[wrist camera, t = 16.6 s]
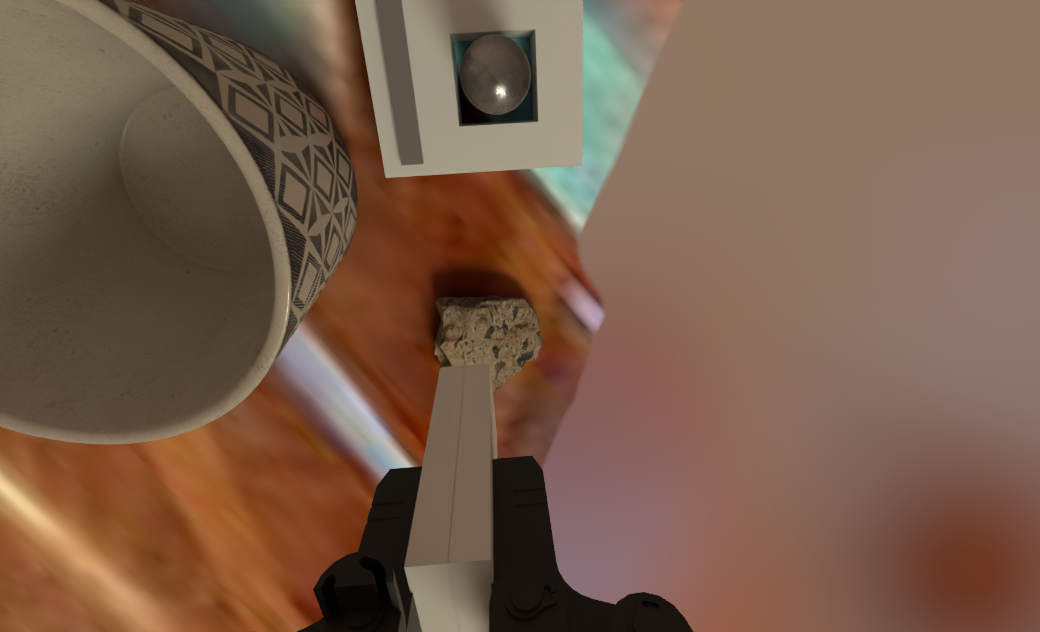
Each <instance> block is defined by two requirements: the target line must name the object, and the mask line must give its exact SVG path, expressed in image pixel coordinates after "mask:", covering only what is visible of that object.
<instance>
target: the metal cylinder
mask: <svg viewBox="0 0 1040 632" xmlns="http://www.w3.org/2000/svg"><path fill="white" fill-rule="evenodd" d="M460 80H461V85H462V89H463V91H464V93H465V95H466V97H467V98H468V100H469V101H470V102H471V103H472V104H473V105H474V106H475V107H476V108H478V109H479V110H481V111H483V112H485V113H488V114H504V113H507V112H510V111H512V110H513V109H515V108H516V107H517V106H519V105H520V103H521V102H522V101H523V100H524V98H525V96H526V95H527V92H528V90H529V86H530V81H531V70H530V64H529V61H528V58H527V56H526V54H525V52H524V51H523V49H522V48H521V47H520V46H519V45H518V44H517V43H516V42H515V41H513V40H512V39H510V38H508V37H506V36H503V35H487V36H483V37H481V38H479V39H478V40H476V41H475V42H473V43H472V44H471V45H470V46H469V48H468V49H467V51H466V52H465V54H464V56H463V59H462V62H461V66H460Z"/></svg>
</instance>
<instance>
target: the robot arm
mask: <svg viewBox="0 0 1040 632" xmlns="http://www.w3.org/2000/svg"><path fill="white" fill-rule="evenodd" d="M313 590H314V592H315V595H316V598H317V600H318V603H319V606H320V608H321V611H322V613H323V616H324V617H323V618H322V619H320V620H319V621H318V622H316V623H314V624H312V625H310V626H308V627H306V628H304V629H302V630H299V631H297V632H693V630H692V629H691V627H690V626H689V624H688V622H687V621H686V619H685V618H684V617H683V615H682V614H681V613H680V612H679V611H678V610H677V609H676V607H675V606H674V605H673V604H671V603H670V602H668V601H666V600H665V599H663V598H662V597H660V596H657V595H653V594H649V593H645V592H642V593H635V594H629V595H627V596H626V597H625V598H623V599H621V600H620V601H618V602H617V604H616V605H615V604H610V603H607V602H603V601H598V600H594V599H591V598H589V597H586V596H583V595H581V594H579V593H578V592H576V591H575V590H573V589H572V588H571V587H570V586H569V585H568V584H567V583H566V582H565V581H564V579H563V578H562V576H561V574H560V572H559V570H558V567H557V563H556V557H555V551H554V544H553V537H552V530H551V523H550V516H549V510H548V504H547V496H546V490H545V482H544V476H543V470H542V469H541V467H540V466H539V464H538V463H537V462H536V460H535V459H534V458H533V456H524V457H512V458H500V459H497V433H496V423H495V412H494V401H493V391H492V380H491V370H490V364H479V365H466V366H453V367H440V372H439V378H438V384H437V389H436V395H435V400H434V406H433V411H432V417H431V422H430V428H429V433H428V439H427V444H426V450H425V455H424V461H423V466H422V467H410V468H398V469H390V470H389V471H388V473H387V474H386V475H385V476H384V478H383V479H382V480H381V482H380V483H379V484H378V485H377V488H376V491H375V495H374V498H373V502H372V508H371V509H370V512H369V516H368V519H367V524H366V526H365V529H364V533H363V536H362V540H361V543H360V547H359V550H358V552H355V553H352V554H348V555H346V556H345V557H343V558H341V559H339V560H338V561H336V562H334V563H333V564H332V565H331V566H330V567H329V568H328V569H327V570H326V571H325V572H324V573H323V574H322V575H321V577H320V578H319V580H318V582H317V584H316V586H315V587H314V589H313Z"/></svg>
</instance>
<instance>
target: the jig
mask: <svg viewBox="0 0 1040 632" xmlns="http://www.w3.org/2000/svg"><path fill="white" fill-rule="evenodd" d="M355 3H356V9H357V15H358V20H359V26H360V32H361V38H362V44H363V49H364V55H365V61H366V67H367V72H368V78H369V84H370V90H371V96H372V101H373V107H374V113H375V119H376V124H377V130H378V136H379V142H380V148H381V153H382V159H383V165H384V171H385V176H386V178H391V177H407V176H423V175H438V174H454V173H469V172H485V171H501V170H516V169H532V168H547V167H563V166H579V165H582V105H583V0H355ZM487 35H503V36H506V37H508V38H526V37H530V50H531V76H532V103H533V120H518V121H502V122H485V123H469V124H462V116H461V106H460V96H459V86H458V76H457V66H456V55H455V45H454V41H471V40H478V39H479V38H481V37H483V36H487Z"/></svg>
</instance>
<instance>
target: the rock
mask: <svg viewBox="0 0 1040 632" xmlns="http://www.w3.org/2000/svg"><path fill="white" fill-rule="evenodd" d="M435 303H436V306H437V309H438V311H439V313H440V316H441V324H440V327H439V330H438V334H437V337H436V340H435V342H434V343H435V349H434V354H435V355H437V357H438V360H439V361H440V363H441V364H440V367H453V366H466V365H479V364H490V370H491V380H492V390H498V388H500V387H502V386H503V385H504V384H505V383H506V382H507V380H508V379H509V378H514V375H516V374H517V373H518V372H519V371H521V370H522V369H523V366H524V364H525V362H526V361H532V360H535V359H537V357H538V351H539V349H540V348H541V346H542V338H541V335H540V328H539V322H538V318H537V316H536V315H535V314H534V312H533V309H532V307H531V306H530V305H529V304H528V303H527V301H526V300H525V299H523V298H516V297H514V298H510V297H508V298H504V297H500V296H494V295H489V296H487V297H464V298H456V297H442V298H437V299H436V301H435Z"/></svg>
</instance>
